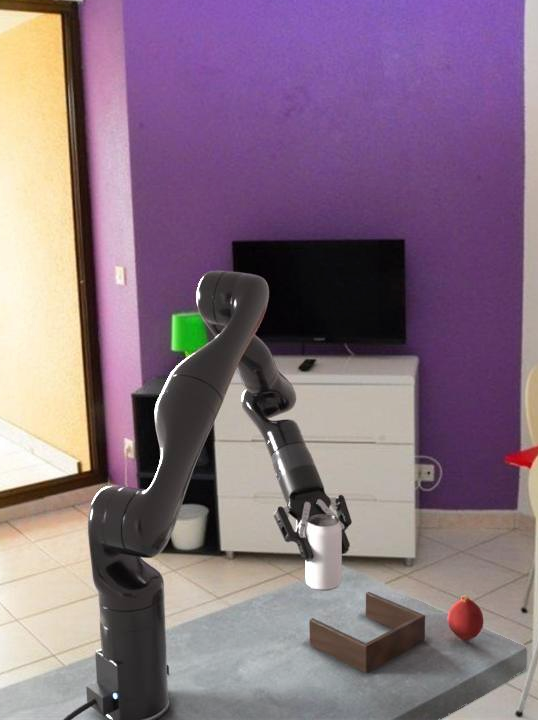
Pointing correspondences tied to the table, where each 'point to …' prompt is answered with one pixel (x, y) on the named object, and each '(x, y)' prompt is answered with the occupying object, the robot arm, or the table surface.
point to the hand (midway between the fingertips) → (328, 555)
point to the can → (324, 552)
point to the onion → (465, 619)
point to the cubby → (379, 650)
